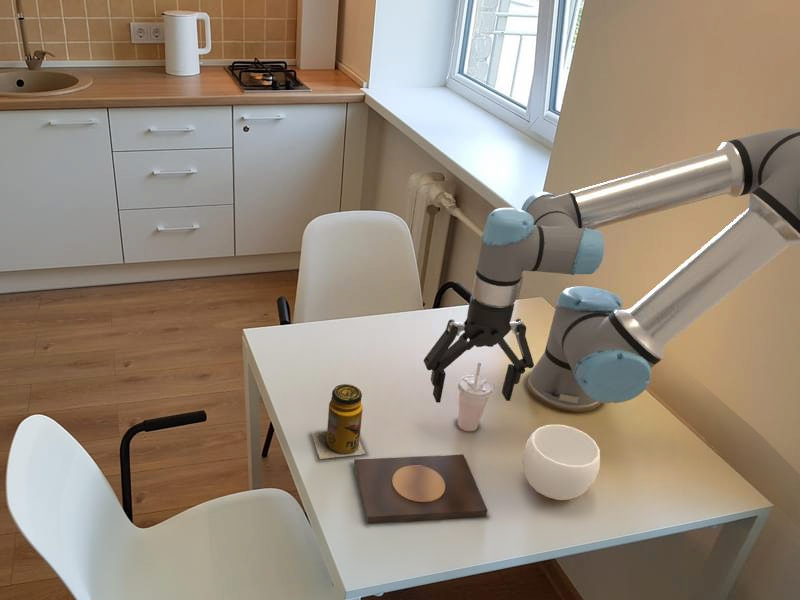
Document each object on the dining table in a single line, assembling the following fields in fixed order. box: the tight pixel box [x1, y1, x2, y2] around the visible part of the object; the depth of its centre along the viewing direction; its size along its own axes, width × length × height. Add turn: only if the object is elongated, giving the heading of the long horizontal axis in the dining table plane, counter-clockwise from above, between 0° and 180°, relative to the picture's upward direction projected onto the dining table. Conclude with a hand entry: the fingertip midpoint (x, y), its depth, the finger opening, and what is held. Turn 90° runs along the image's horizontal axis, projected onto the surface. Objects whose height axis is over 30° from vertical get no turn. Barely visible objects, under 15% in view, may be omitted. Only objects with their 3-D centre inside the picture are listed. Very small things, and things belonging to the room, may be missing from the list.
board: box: [353, 454, 488, 524], centre depth 124 cm, size 20×14×2 cm
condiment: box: [311, 383, 366, 460], centre depth 130 cm, size 7×8×12 cm
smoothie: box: [457, 362, 494, 432], centre depth 136 cm, size 6×6×14 cm
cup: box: [522, 424, 601, 501], centre depth 124 cm, size 12×12×10 cm
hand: (471, 397), depth 136 cm, fingers open, 13 cm apart
